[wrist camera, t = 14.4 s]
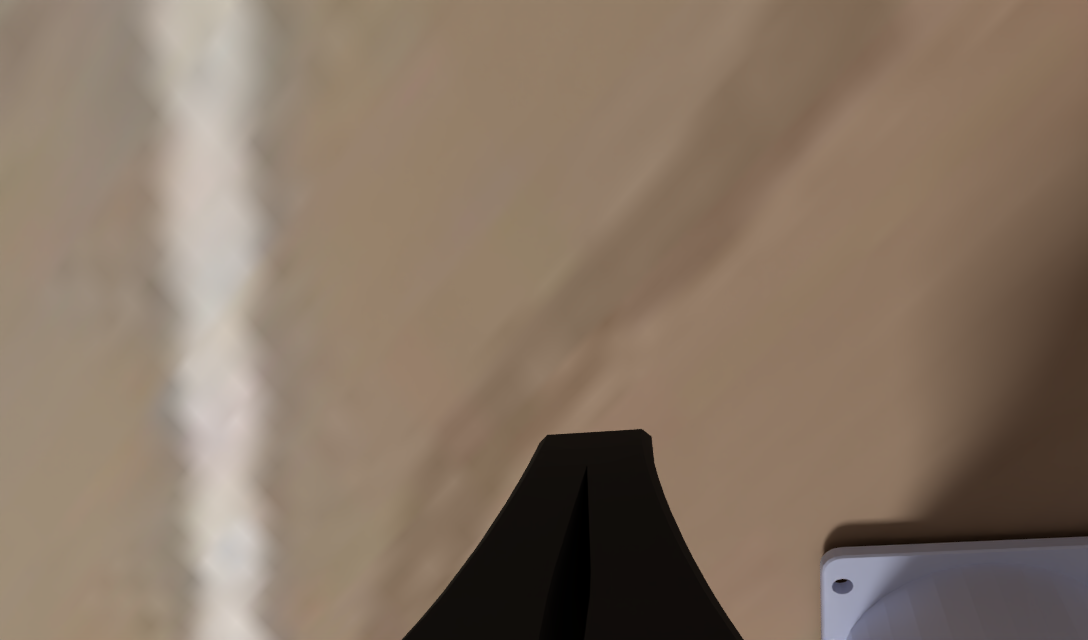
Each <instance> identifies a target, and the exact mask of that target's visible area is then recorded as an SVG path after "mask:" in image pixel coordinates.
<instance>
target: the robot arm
mask: <svg viewBox="0 0 1088 640" xmlns="http://www.w3.org/2000/svg"><path fill="white" fill-rule="evenodd" d="M839 579H848V580H847V581H846V582H842V583H837V582H835V581H836V580H839ZM820 584H821V640H1088V536H1086V537H1063V538H1040V539H1018V540H995V541H972V542H949V543H926V544H903V545H880V546H857V547H839V548H834V549H831V550H829V551H827V552H826V553H825V554H824V555H823V556H822V558H821V562H820ZM402 640H743V638H742V637H741V635H740V634H739V632H738V631H737V629H736V628H735V626H734V625H733V623H732V622H731V620H730V619H729V618H728V616H727V615H726V613H725V612H724V610H723V608H722V607H721V605H720V604H719V602H718V600H717V599H716V597H715V596H714V594H713V592H712V591H711V589H710V587H709V586H708V584H707V582H706V580H705V578H704V577H703V575H702V573H701V571H700V569H699V568H698V566H697V564H696V562H695V561H694V559H693V557H692V555H691V553H690V551H689V549H688V547H687V545H686V543H685V541H684V539H683V537H682V534H681V532H680V530H679V528H678V526H677V524H676V521H675V519H674V517H673V515H672V513H671V510H670V508H669V505H668V503H667V500H666V498H665V495H664V493H663V490H662V487H661V484H660V481H659V478H658V475H657V471H656V468H655V464H654V456H653V447H652V438H651V436H650V435H649V434H648V433H646V432H645V431H644V430H642V429H636V430H620V431H604V432H588V433H572V434H556V435H547V436H546V437H545V438H544V439H543V440H542V441H541V442H540V443H539V445H538V447H537V449H536V451H535V453H534V455H533V457H532V459H531V461H530V463H529V464H528V466H527V468H526V470H525V472H524V473H523V475H522V477H521V479H520V480H519V482H518V484H517V485H516V487H515V489H514V490H513V492H512V494H511V495H510V497H509V499H508V500H507V502H506V504H505V505H504V507H503V508H502V510H501V511H500V513H499V514H498V516H497V517H496V519H495V521H494V522H493V524H492V525H491V527H490V528H489V530H488V531H487V533H486V534H485V536H484V537H483V539H482V540H481V542H480V543H479V545H478V546H477V547H476V549H475V550H474V552H473V553H472V554H471V556H470V557H469V558H468V560H467V561H466V562H465V564H464V565H463V566H462V568H461V569H460V570H459V572H458V573H457V574H456V576H455V577H454V578H453V580H452V581H451V582H450V584H449V585H448V586H447V588H446V589H445V590H444V591H443V593H442V594H441V595H440V596H439V598H438V599H437V600H436V601H435V602H434V604H433V605H432V606H431V607H430V609H429V610H428V611H427V612H426V613H425V614H424V616H423V617H422V618H421V619H420V620H419V621H418V622H417V624H416V625H415V626H414V627H413V628H412V629H411V630H410V631H409V632H408V633H407V635H406V636H405V637H404V638H403V639H402Z"/></svg>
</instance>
